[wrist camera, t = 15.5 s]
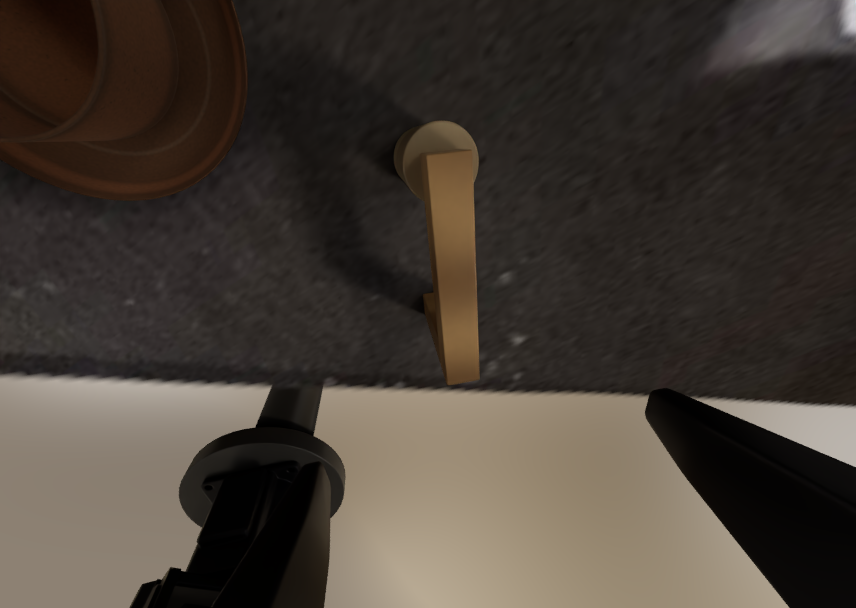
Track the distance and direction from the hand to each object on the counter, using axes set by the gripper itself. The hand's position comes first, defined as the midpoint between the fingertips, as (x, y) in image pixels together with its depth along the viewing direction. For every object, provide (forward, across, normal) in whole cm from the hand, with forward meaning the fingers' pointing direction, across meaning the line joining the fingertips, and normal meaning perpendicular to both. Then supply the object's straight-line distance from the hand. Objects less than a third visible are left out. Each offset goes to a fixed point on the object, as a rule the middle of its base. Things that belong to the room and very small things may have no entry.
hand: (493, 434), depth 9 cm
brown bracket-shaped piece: (+13, -1, -2) cm, 13 cm away
